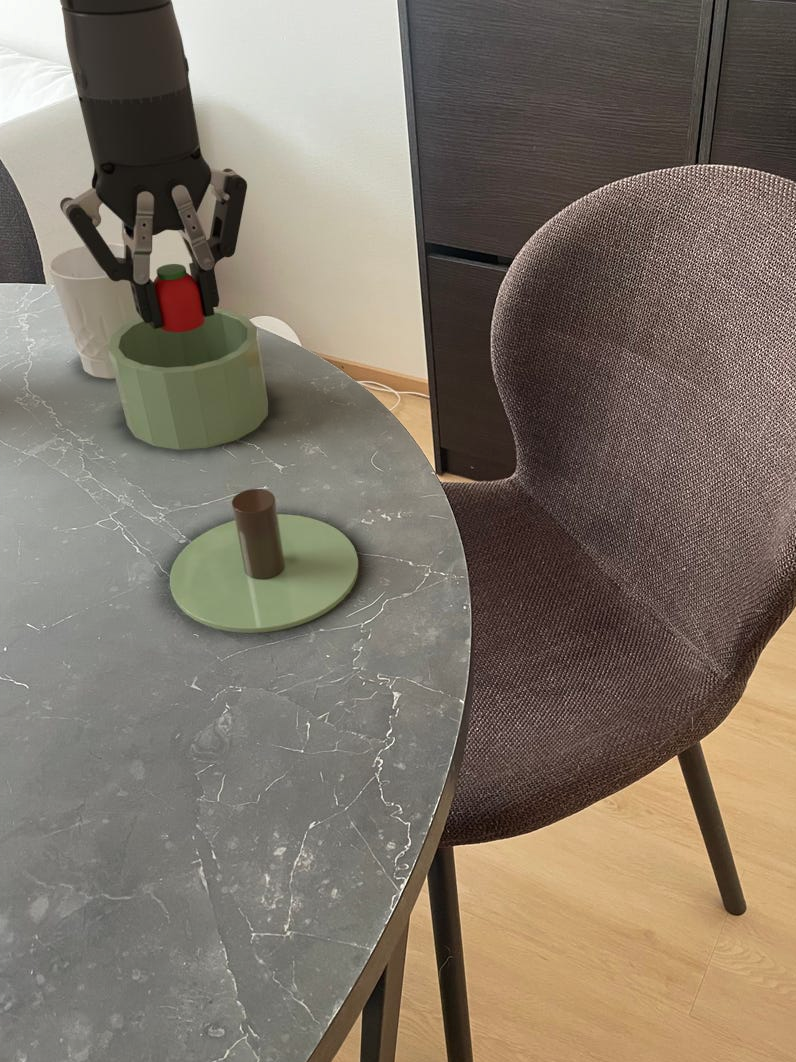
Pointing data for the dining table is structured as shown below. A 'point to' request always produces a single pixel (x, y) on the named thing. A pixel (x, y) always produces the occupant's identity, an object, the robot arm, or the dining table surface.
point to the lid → (263, 569)
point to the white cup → (92, 305)
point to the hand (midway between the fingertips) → (180, 317)
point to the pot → (190, 381)
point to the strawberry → (178, 299)
